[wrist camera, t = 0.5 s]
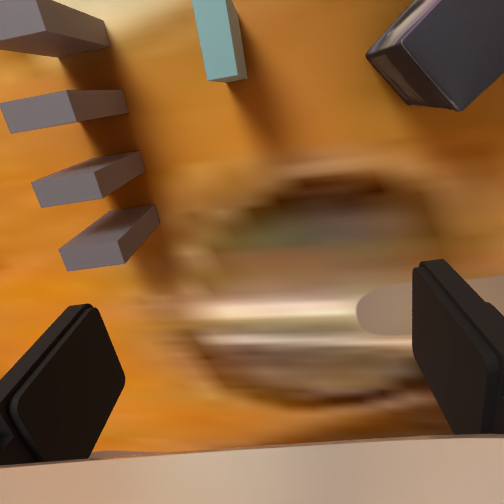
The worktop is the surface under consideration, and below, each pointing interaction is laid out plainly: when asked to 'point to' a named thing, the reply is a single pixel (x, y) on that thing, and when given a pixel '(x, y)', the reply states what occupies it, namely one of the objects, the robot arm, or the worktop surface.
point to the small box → (442, 51)
